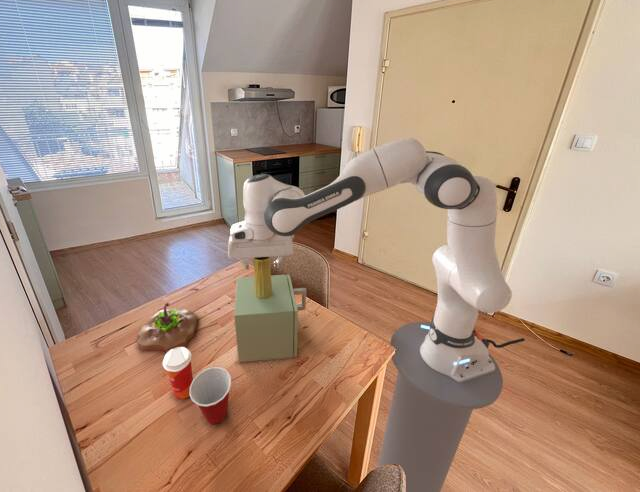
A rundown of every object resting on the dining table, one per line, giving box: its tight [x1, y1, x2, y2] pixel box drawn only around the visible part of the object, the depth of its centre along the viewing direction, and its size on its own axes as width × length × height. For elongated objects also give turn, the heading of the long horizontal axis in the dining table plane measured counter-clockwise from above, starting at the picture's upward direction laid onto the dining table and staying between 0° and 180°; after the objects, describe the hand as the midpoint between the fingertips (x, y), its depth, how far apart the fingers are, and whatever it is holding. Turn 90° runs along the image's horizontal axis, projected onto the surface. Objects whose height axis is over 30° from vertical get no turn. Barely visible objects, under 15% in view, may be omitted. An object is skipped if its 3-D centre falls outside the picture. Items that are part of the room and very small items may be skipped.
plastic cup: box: [189, 366, 232, 425], centre depth 78 cm, size 11×11×12 cm
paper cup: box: [162, 346, 194, 400], centre depth 84 cm, size 8×8×14 cm
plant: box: [136, 301, 199, 353], centre depth 106 cm, size 20×20×11 cm
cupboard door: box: [286, 274, 307, 358], centre depth 102 cm, size 7×20×19 cm, turn 5°
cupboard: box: [233, 274, 294, 363], centre depth 101 cm, size 18×20×20 cm
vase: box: [252, 257, 272, 298], centre depth 94 cm, size 6×6×14 cm
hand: (261, 267), depth 93 cm, fingers open, 8 cm apart
